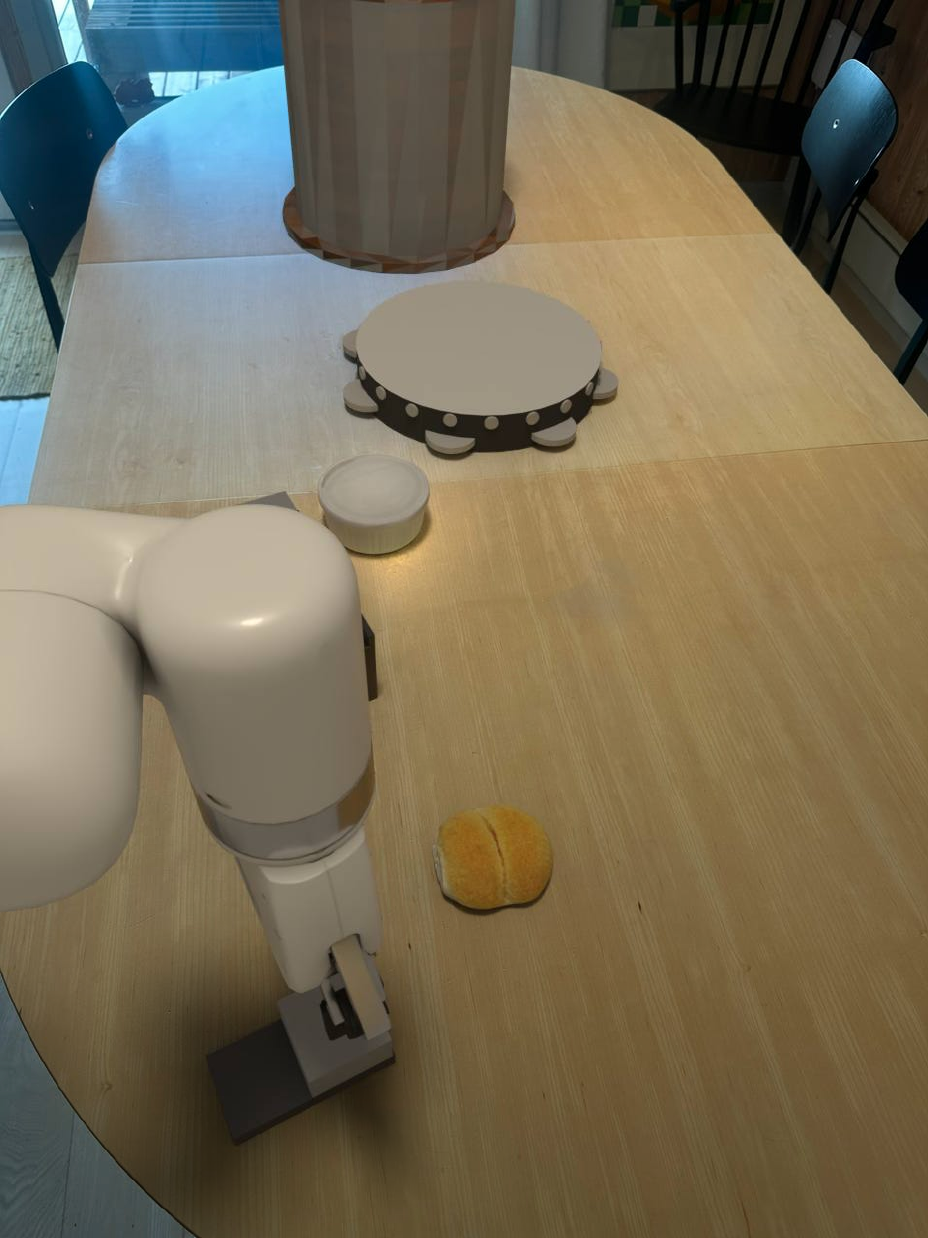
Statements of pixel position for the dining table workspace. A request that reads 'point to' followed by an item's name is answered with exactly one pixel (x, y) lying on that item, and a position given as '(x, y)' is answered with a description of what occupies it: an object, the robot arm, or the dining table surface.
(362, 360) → the tambourine
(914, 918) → the dining table surface
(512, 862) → the bread roll
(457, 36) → the storage basket
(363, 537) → the ramekin
